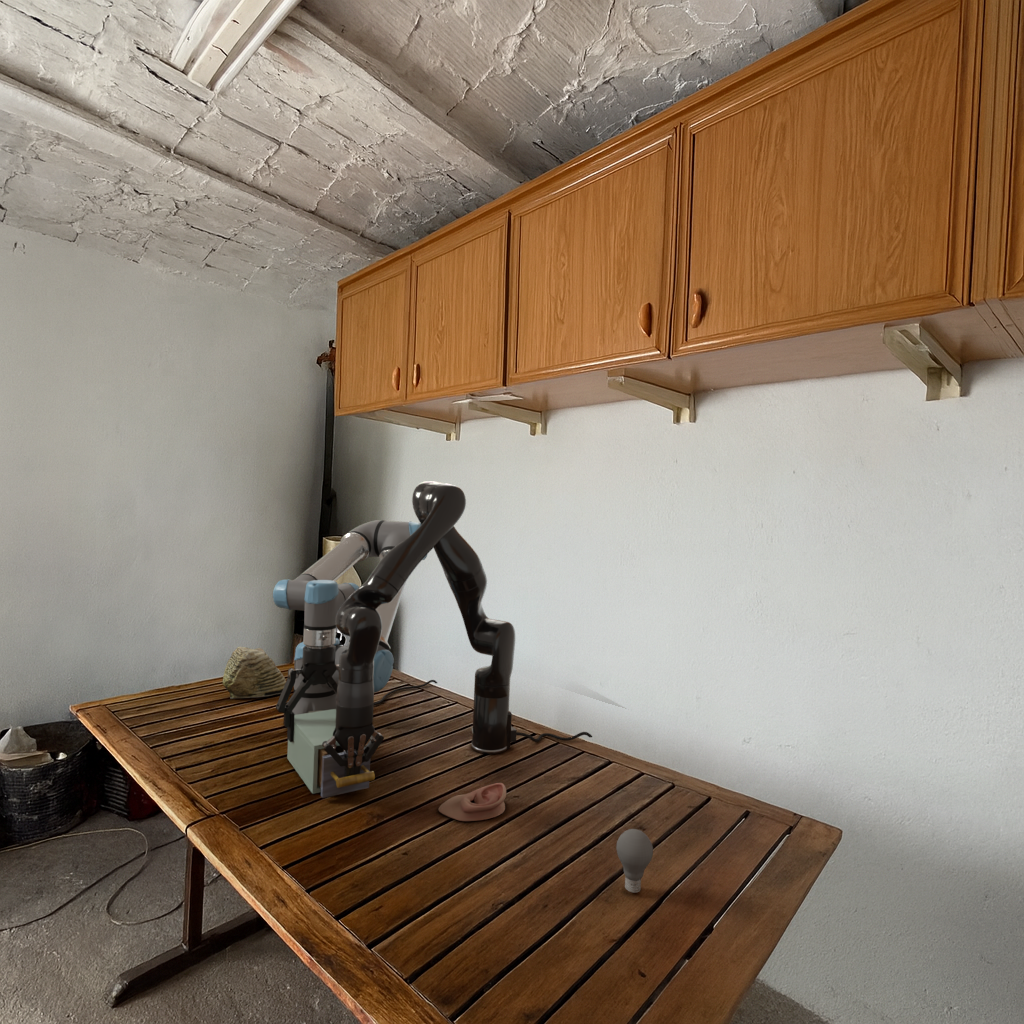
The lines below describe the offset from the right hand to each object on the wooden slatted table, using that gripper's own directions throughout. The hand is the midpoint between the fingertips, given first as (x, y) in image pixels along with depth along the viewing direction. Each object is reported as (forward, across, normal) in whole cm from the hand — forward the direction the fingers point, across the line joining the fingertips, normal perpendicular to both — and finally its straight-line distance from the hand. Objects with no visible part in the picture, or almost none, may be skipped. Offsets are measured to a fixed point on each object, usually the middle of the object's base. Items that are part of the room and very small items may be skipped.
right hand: (351, 782), depth 131 cm
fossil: (+5, -3, +82) cm, 82 cm away
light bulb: (+4, +31, -51) cm, 60 cm away
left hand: (-1, 0, +25) cm, 25 cm away
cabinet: (+5, 0, +18) cm, 19 cm away
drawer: (+4, 0, +10) cm, 10 cm away
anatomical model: (+4, +21, -14) cm, 26 cm away
